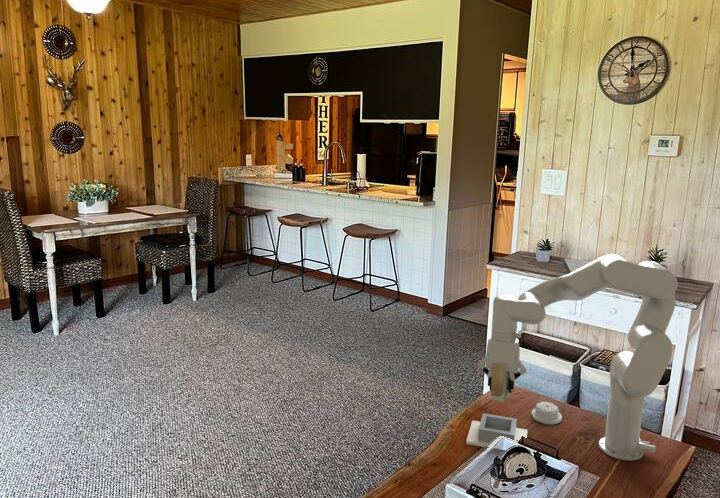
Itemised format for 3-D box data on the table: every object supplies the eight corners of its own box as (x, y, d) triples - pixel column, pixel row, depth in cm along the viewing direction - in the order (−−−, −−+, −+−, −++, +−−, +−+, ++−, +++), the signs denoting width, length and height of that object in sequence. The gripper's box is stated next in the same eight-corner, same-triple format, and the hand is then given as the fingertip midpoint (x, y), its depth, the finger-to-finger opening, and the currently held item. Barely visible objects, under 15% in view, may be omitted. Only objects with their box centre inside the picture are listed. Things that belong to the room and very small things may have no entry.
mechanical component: (565, 425, 189) (557, 411, 198) (566, 413, 188) (558, 400, 197) (534, 424, 189) (528, 410, 199) (535, 412, 189) (529, 398, 198)
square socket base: (527, 432, 184) (528, 418, 183) (525, 454, 171) (526, 439, 170) (472, 423, 189) (472, 409, 188) (465, 443, 176) (466, 429, 175)
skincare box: (497, 392, 181) (499, 356, 179) (510, 395, 179) (512, 359, 176) (489, 399, 176) (491, 362, 173) (503, 403, 173) (505, 366, 171)
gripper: (533, 334, 174) (529, 388, 177) (477, 328, 179) (474, 380, 183) (532, 342, 167) (528, 398, 171) (474, 335, 172) (471, 390, 176)
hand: (500, 389), depth 177 cm, fingers closed on skincare box, 5 cm apart
